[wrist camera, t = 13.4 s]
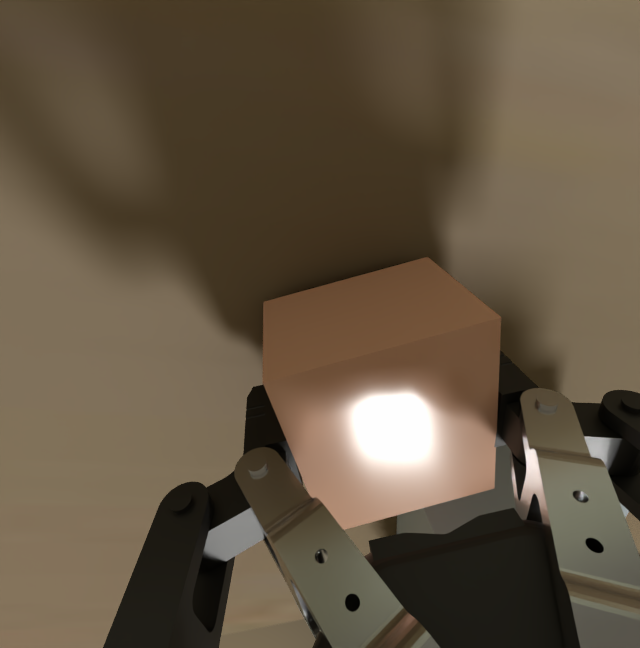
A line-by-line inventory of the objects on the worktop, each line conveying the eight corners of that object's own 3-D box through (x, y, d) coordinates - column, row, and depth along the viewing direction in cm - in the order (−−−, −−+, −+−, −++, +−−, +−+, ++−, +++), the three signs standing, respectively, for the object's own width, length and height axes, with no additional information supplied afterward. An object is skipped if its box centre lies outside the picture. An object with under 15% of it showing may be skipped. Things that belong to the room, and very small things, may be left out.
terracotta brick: (427, 256, 12) (500, 317, 9) (438, 400, 16) (494, 488, 12) (263, 301, 12) (262, 382, 9) (311, 434, 16) (325, 534, 12)
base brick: (554, 414, 20) (637, 497, 15) (517, 526, 25) (569, 610, 21) (396, 444, 19) (436, 539, 15) (394, 552, 24) (422, 644, 20)
